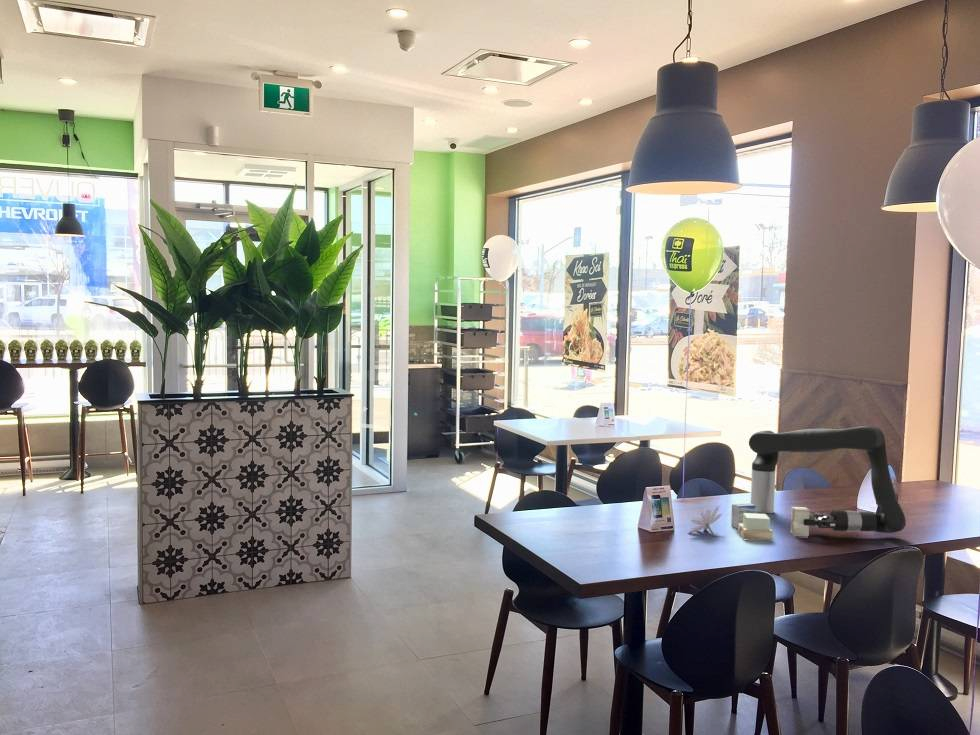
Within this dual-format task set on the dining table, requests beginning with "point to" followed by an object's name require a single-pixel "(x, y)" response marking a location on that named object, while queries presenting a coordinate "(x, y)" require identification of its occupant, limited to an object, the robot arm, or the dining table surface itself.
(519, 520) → the dining table surface
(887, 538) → the dining table surface
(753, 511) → the medicine box
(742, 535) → the tower base block
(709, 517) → the water lily
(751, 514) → the tower top block
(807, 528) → the tall white block
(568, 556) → the dining table surface
